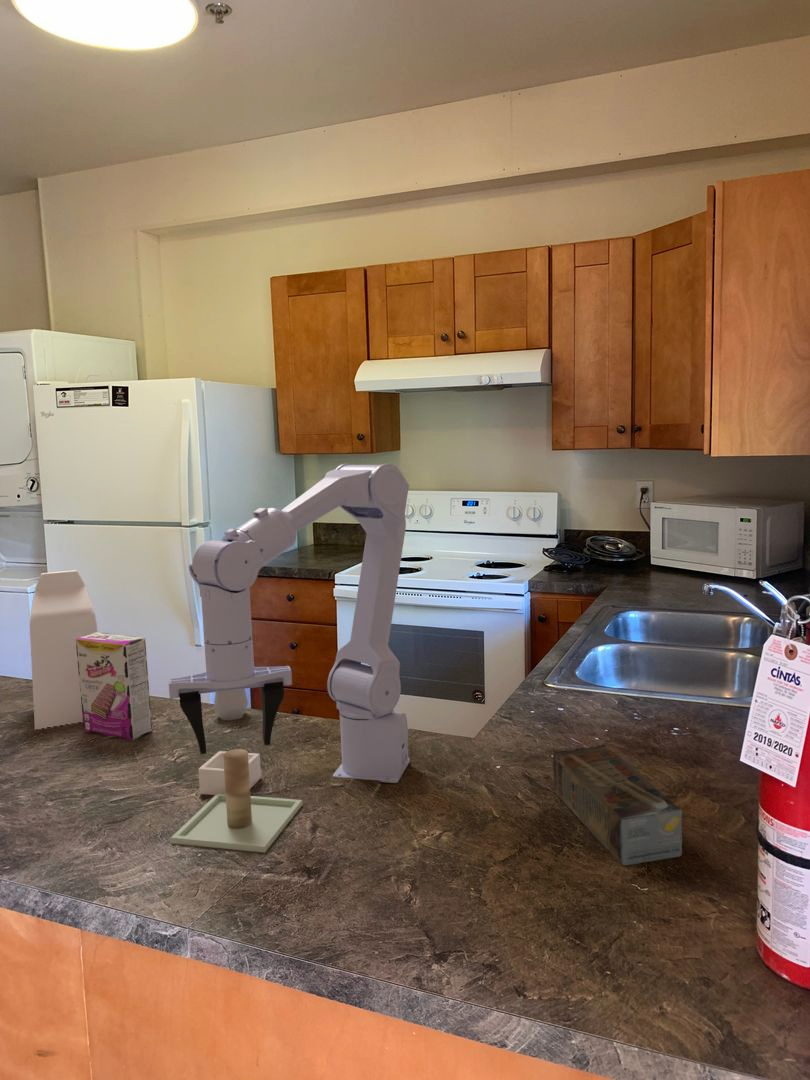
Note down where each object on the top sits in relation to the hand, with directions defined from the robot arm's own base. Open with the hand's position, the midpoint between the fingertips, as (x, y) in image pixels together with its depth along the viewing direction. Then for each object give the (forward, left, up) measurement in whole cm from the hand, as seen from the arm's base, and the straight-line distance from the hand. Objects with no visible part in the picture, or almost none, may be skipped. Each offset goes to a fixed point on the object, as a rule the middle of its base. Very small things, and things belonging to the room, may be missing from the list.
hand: (235, 746), depth 97 cm
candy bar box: (+35, -27, -11) cm, 45 cm away
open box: (+6, -10, -10) cm, 15 cm away
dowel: (0, 0, -10) cm, 10 cm away
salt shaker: (+19, -37, -11) cm, 43 cm away
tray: (0, 0, -10) cm, 10 cm away
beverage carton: (-45, -9, -11) cm, 47 cm away
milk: (+49, -34, -11) cm, 60 cm away
